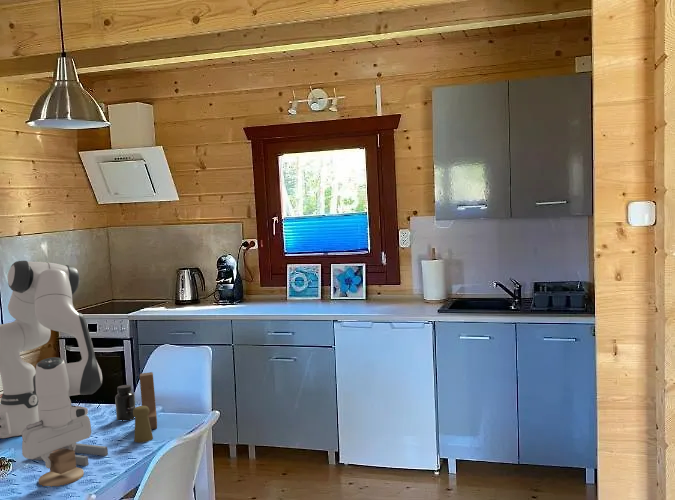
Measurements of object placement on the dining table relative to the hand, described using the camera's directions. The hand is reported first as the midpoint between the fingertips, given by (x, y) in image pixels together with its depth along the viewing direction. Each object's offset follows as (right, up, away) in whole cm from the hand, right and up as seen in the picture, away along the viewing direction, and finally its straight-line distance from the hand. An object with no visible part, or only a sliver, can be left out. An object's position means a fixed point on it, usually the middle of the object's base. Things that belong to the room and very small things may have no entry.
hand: (60, 463), depth 195 cm
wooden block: (+14, -1, +43) cm, 45 cm away
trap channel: (-5, -4, +18) cm, 19 cm away
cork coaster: (0, -4, 0) cm, 4 cm away
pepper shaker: (+16, -2, +29) cm, 33 cm away
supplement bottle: (+2, -1, +54) cm, 54 cm away
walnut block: (+1, -2, -1) cm, 2 cm away
